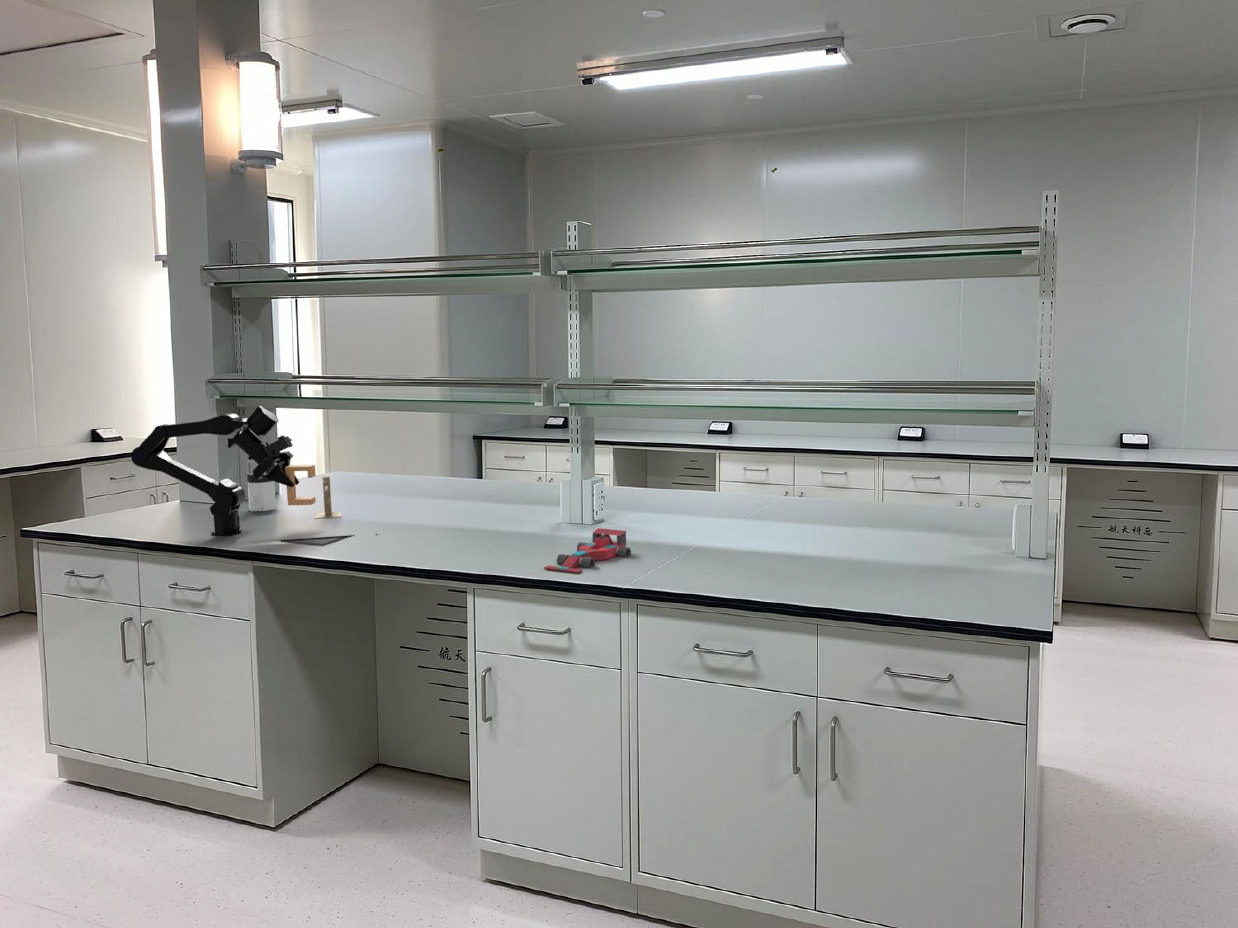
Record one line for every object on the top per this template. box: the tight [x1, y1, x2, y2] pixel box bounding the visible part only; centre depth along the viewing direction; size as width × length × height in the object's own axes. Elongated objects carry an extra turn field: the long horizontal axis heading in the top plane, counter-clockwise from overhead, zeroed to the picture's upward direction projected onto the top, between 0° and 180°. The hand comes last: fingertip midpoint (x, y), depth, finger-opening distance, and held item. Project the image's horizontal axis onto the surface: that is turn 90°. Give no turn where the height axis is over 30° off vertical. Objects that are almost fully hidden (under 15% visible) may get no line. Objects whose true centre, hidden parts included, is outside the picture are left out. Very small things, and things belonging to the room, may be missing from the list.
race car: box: [543, 528, 632, 574], centre depth 240 cm, size 14×6×25 cm
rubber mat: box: [280, 534, 355, 546], centre depth 271 cm, size 14×14×1 cm
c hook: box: [285, 464, 317, 506], centre depth 279 cm, size 7×4×11 cm, turn 90°
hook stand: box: [313, 476, 343, 520], centre depth 294 cm, size 8×20×13 cm, turn 16°
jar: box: [246, 471, 277, 513], centre depth 317 cm, size 9×8×12 cm
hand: (295, 484), depth 279 cm, fingers closed on c hook, 4 cm apart
